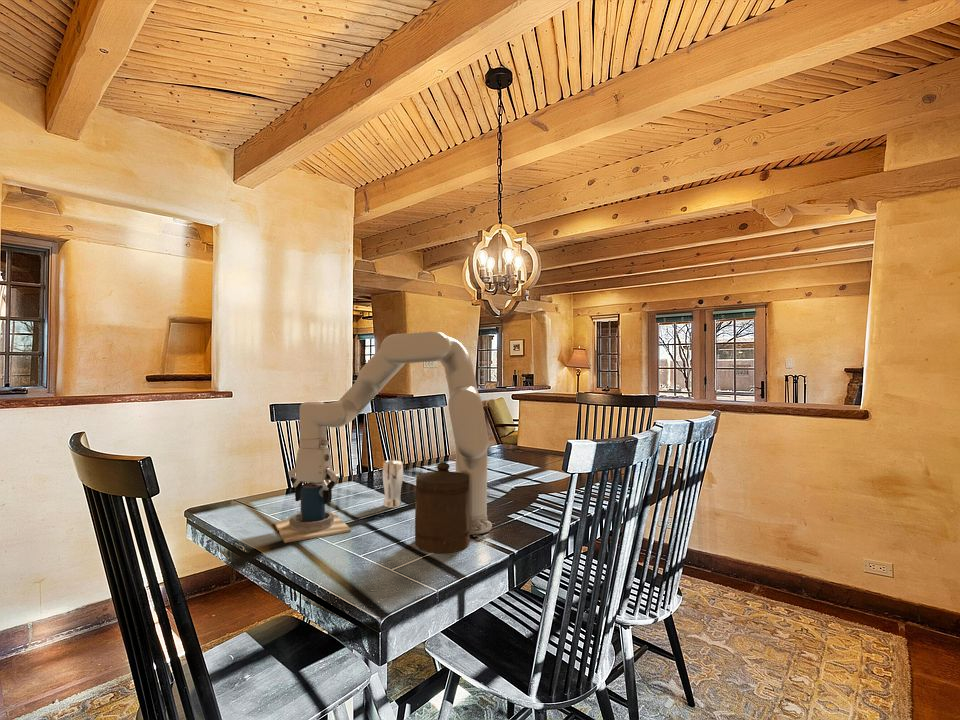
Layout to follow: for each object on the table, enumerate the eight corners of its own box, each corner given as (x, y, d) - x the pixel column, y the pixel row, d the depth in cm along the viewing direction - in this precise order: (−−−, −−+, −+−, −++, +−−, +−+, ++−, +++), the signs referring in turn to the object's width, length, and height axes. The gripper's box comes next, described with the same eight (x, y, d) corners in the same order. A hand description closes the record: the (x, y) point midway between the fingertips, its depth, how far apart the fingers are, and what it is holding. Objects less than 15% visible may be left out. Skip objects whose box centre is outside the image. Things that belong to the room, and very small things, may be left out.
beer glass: (391, 501, 174) (391, 459, 174) (406, 504, 170) (407, 461, 171) (377, 506, 168) (378, 462, 168) (393, 509, 165) (394, 464, 165)
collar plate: (350, 531, 143) (350, 520, 143) (284, 542, 133) (284, 530, 133) (334, 515, 158) (334, 504, 158) (274, 523, 149) (274, 513, 149)
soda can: (330, 523, 147) (330, 483, 147) (311, 530, 141) (311, 488, 141) (314, 520, 150) (314, 480, 151) (295, 526, 145) (295, 485, 145)
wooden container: (441, 530, 145) (442, 455, 145) (480, 542, 136) (481, 462, 136) (403, 544, 133) (404, 462, 134) (443, 558, 124) (444, 470, 124)
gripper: (345, 443, 147) (345, 500, 147) (297, 440, 152) (297, 495, 152) (330, 447, 140) (330, 507, 139) (280, 444, 145) (280, 502, 145)
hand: (313, 501), depth 146 cm, fingers open, 9 cm apart
